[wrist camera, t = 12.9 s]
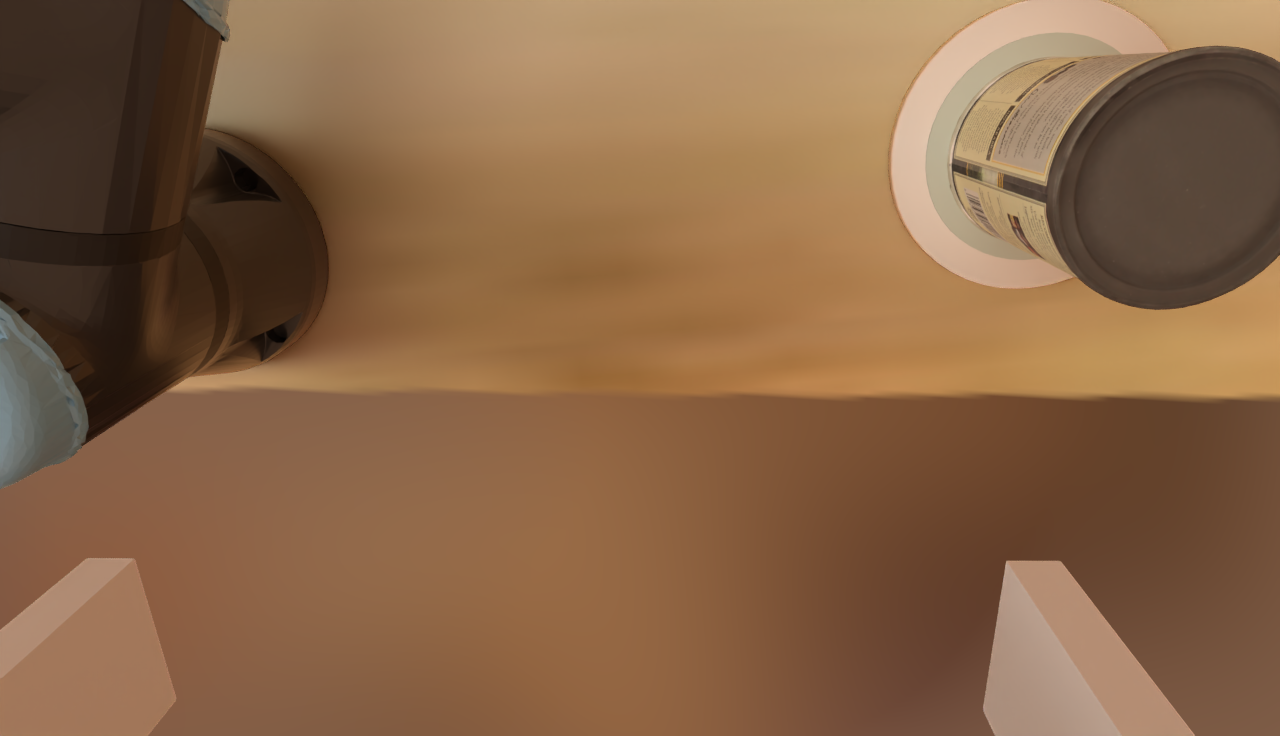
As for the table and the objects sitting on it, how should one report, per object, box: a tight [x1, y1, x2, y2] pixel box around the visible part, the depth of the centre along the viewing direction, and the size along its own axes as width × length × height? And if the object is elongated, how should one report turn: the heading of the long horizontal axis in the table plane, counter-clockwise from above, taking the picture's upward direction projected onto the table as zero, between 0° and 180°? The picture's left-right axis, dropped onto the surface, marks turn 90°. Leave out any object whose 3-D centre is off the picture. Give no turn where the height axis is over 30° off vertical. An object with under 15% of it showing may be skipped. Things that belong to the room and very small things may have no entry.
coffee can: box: [947, 46, 1280, 310], centre depth 38 cm, size 10×10×14 cm
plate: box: [888, 0, 1169, 289], centre depth 45 cm, size 16×16×1 cm
